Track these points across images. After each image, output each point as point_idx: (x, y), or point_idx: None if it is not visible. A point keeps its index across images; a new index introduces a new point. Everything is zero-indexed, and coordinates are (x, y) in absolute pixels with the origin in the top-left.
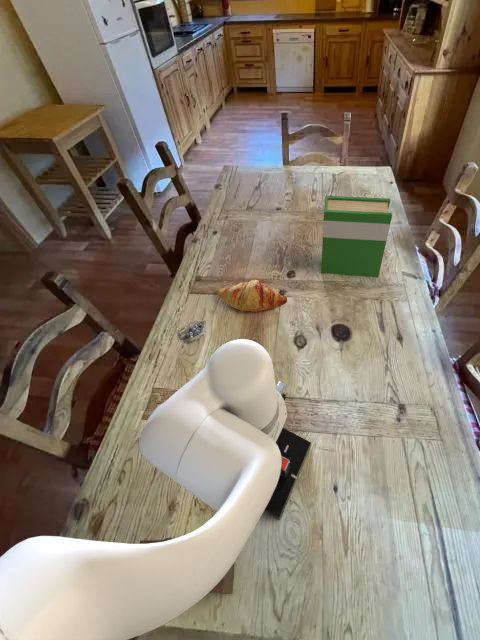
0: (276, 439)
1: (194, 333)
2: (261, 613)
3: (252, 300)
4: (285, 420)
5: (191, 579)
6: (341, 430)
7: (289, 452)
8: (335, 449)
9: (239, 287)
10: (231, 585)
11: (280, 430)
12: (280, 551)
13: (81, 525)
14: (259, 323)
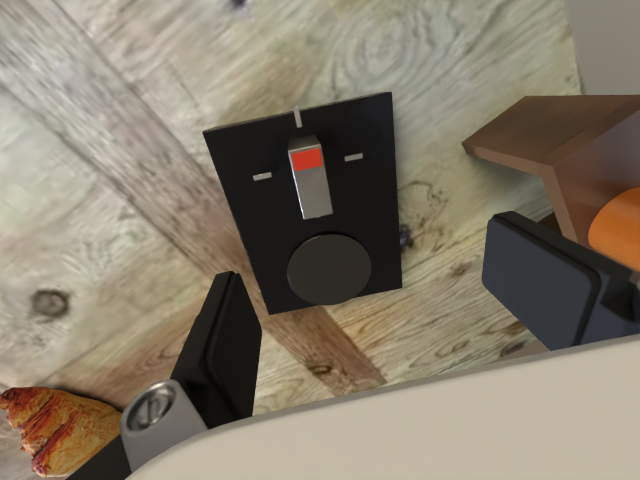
0: (432, 432)
1: None
2: (534, 15)
3: (79, 446)
4: (164, 472)
5: None
6: (109, 77)
7: (263, 164)
8: (162, 62)
9: None
10: (531, 103)
11: (310, 470)
12: (428, 50)
13: (526, 336)
14: (114, 381)
